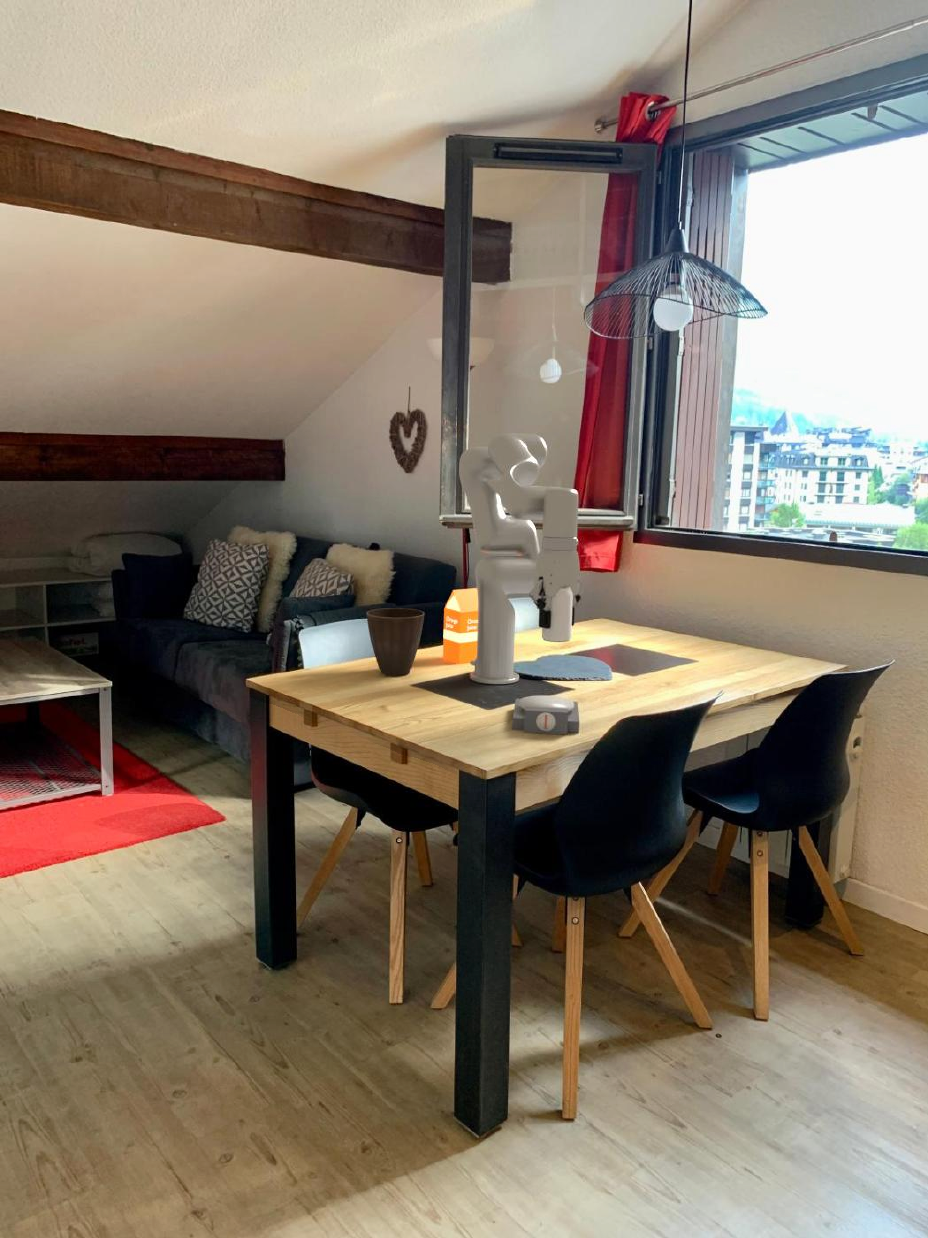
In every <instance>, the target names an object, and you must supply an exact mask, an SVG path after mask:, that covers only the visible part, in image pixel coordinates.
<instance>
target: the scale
mask: <svg viewBox="0 0 928 1238" xmlns="http://www.w3.org/2000/svg"><path fill="white" fill-rule="evenodd" d="M511 725H512V727H511V728H512V730H523V733H527V734H530V733H531V734H544V735H545V734H546V735H562V734H567V735H568V733H580V714H579V702H578V701H572V700H570V699H567V698H566V697H561V696H555V695H530V696H526V697H522V698H515V701H514V709H513V715H512V724H511Z"/></svg>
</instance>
